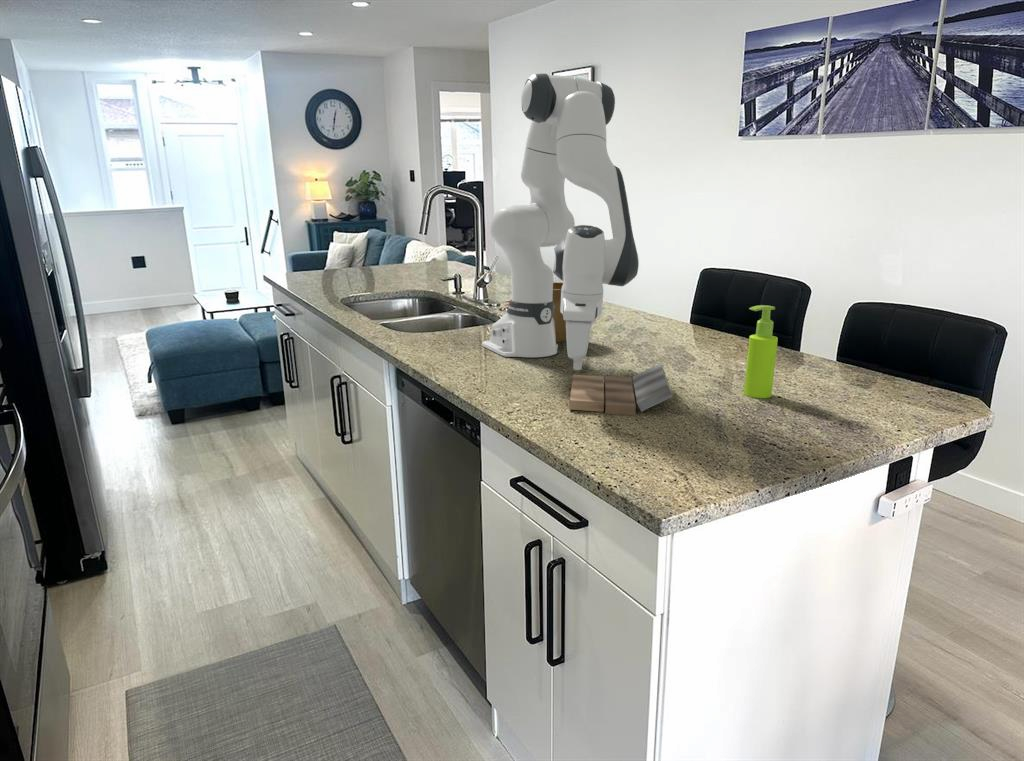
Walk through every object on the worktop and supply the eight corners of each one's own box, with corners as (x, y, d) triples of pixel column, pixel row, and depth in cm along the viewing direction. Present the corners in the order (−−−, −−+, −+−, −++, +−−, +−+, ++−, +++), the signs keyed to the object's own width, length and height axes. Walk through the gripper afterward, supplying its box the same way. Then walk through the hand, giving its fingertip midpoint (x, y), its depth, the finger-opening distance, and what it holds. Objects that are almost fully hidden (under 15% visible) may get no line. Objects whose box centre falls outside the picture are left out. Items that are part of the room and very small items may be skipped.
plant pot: (580, 335, 220) (582, 282, 215) (580, 346, 205) (582, 289, 201) (531, 333, 221) (532, 280, 217) (527, 344, 207) (529, 288, 202)
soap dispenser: (734, 392, 163) (743, 304, 158) (759, 389, 165) (769, 302, 160) (751, 399, 158) (761, 309, 152) (777, 397, 160) (787, 307, 155)
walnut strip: (604, 384, 168) (604, 375, 168) (630, 385, 168) (631, 376, 167) (605, 413, 147) (605, 404, 147) (635, 415, 146) (635, 405, 146)
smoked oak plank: (572, 382, 168) (573, 374, 167) (602, 384, 167) (603, 376, 167) (569, 409, 149) (569, 400, 148) (603, 411, 148) (604, 402, 148)
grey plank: (636, 384, 166) (632, 377, 166) (664, 370, 165) (660, 363, 164) (641, 411, 147) (636, 403, 147) (673, 396, 146) (668, 388, 145)
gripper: (569, 295, 163) (566, 354, 167) (563, 313, 144) (559, 380, 148) (597, 297, 162) (593, 356, 166) (595, 315, 143) (590, 382, 147)
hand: (577, 368), depth 157 cm, fingers closed
